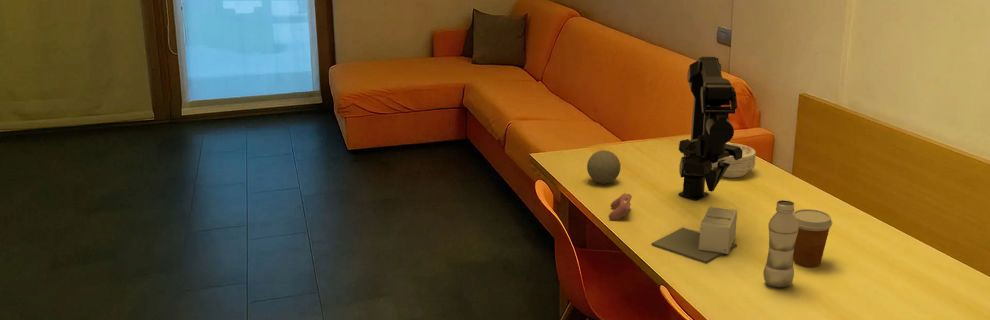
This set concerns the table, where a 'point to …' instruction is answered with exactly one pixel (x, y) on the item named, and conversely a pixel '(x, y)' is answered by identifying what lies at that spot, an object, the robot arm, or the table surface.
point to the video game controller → (620, 206)
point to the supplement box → (718, 230)
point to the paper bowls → (740, 162)
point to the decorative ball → (603, 166)
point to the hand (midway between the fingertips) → (711, 191)
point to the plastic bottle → (781, 245)
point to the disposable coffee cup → (811, 236)
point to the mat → (687, 245)
